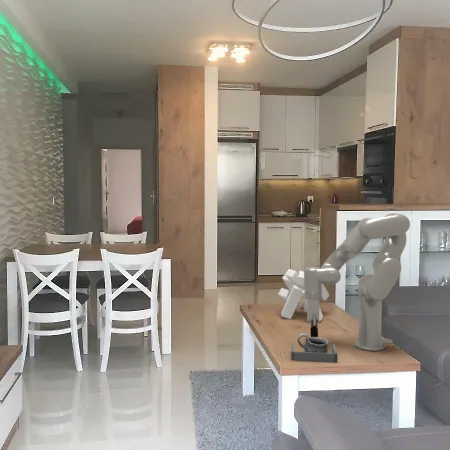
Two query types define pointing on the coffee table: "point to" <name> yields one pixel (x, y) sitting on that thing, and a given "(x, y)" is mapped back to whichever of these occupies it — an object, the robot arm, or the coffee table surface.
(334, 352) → the frame
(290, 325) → the coffee table surface
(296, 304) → the white crossed bars sculpture
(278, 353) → the coffee table surface
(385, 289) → the robot arm
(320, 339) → the mug
